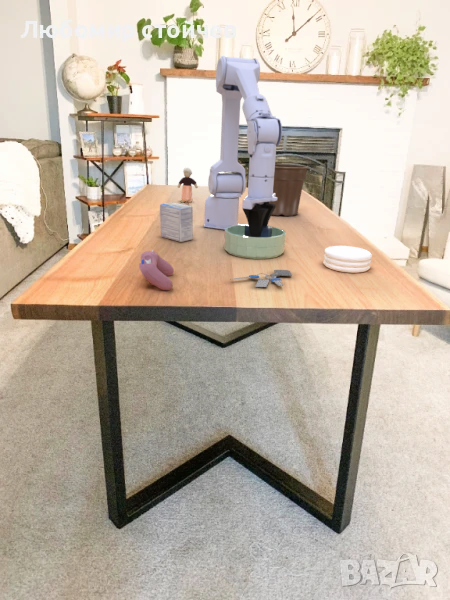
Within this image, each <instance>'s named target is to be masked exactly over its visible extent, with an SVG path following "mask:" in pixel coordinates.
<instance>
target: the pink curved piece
mask: <svg viewBox="0 0 450 600" xmlns="http://www.w3.org/2000/svg"><path fill="white" fill-rule="evenodd" d="M138 266H139V270H140V272H141V274H142V276H143V278H144V279H145V280H146V281H147V282H148V283H149V284H150V285H151V286H154V287H157V288H158V289H159V290H162V291H171V289H173V281H172V280H171V279H170V276H172V275H173V274H174V272H175V271H174V267H173V266H172V265H171V264H170V263H169V262H168V261H167V260H165V259H163V258H162V257H161V256H160V254H158V252H155V251H154V249H152V250H147V251H145V252H142V253H141V254H140V263H139V264H138Z"/></svg>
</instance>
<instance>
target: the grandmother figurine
mask: <svg viewBox="0 0 450 600" xmlns="http://www.w3.org/2000/svg"><path fill="white" fill-rule="evenodd" d="M182 172H183V176H184V177H182V178H181V179H180V180H179V182H178V184H177V188H178V189H179V188H180V189H181V199H180V200H179V202H180V203H190V204H191V203H192V202H193V201H192V200H193V199H192V198H193V187H192V185H193V186H194V189H198V188H199V186H198V184H197V181H196V180H195V179H194V178H192V177H191V176H192V175H193V171H192V169H190V168H189V167H185V168H184V169H183V171H182Z"/></svg>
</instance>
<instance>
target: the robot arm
mask: <svg viewBox="0 0 450 600" xmlns="http://www.w3.org/2000/svg"><path fill="white" fill-rule="evenodd" d="M260 76H261V65H260V62H259V60H258V59H257V58H244V57H232V56H225V55H221V56H220V57H219V58H218V60H217V63H216V70H215V91H216V93H218V94H219V95H221V102H222V106H221V127H220V129H221V130H220V131H221V132H220V158H219V159H218V161H216V162H215V163H213V164H212V166H210V168H209V175H208V180H207V181H208V184H207V185H208V187H207V188H208V192H209V194H210V195H208V196H207V197H206V199H205V202H204V220H203V221H204V223H203V225H202V227H204V228H209V229H210V228H211V229H217V230H223V231H225V229H226V228H227V227H230V226H234V225H243V224H241V223H239V208H240V198H242V195H244V193H245V191H246V189H247V194H246V196H245V197H244V198H243V199H242V207H241V208H242V211H243V213H244V215H245V217H246V221H247V224H248V225H249V231H250V236H251V237H260V235H261V230H262V226H269V222H270V219H271V216H272V215H271V214H272V213H273V211H274V209H275V207H276V205H275V204H269V202H270V201H277V197H275V194H276V193H273V185H274V171H275V164H276V158H277V157H276V155H277V147H278V146H279V145H280V144H281V141H282V137H283V125H282V122H281V119H280V118H279V117H276V115H275V116H273V114H272V112H271V108H270V105H269V103H268V100H267V98H266V96H264V95H263V94H260V90H259V85H258V83H259V80H260ZM242 99H243V102H242V107H241V100H242ZM241 109H242V111H243V112H242V113H243V115H244V118H245V122H246V124H247V127H246V128H247V129H246V141H247V154H248V155H249V161H248V180H247V178H246V177H247V176H246V169H245V167H244V166H243V165H242V164H241V163H240V162H238V155H239V152H238V151H239V138H240V137H239V135H240V119H241V118H240V117H241Z"/></svg>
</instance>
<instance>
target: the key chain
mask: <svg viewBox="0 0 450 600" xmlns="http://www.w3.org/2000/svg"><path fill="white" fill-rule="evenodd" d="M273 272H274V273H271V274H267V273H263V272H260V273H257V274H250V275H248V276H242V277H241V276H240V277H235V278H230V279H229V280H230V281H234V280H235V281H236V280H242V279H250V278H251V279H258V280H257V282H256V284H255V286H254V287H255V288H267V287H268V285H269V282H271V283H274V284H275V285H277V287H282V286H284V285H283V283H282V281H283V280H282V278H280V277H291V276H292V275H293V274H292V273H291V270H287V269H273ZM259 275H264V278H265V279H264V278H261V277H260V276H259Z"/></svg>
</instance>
